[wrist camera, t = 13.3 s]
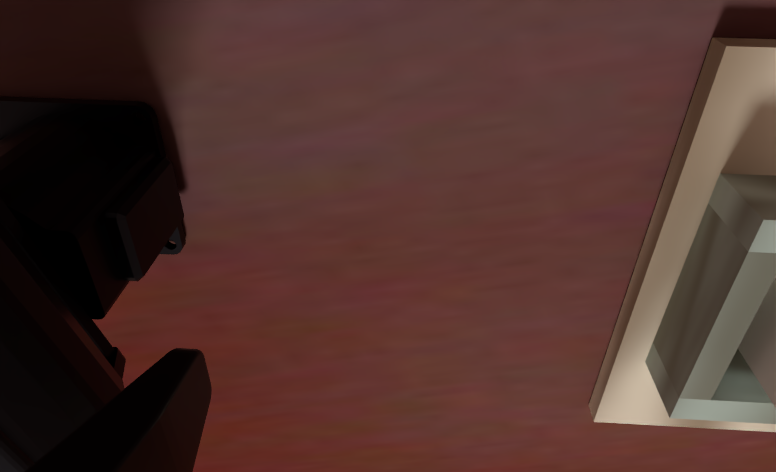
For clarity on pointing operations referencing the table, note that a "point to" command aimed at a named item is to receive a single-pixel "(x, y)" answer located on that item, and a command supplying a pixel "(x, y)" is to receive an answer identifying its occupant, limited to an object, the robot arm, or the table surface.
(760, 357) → the connector plug
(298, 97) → the table surface
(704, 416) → the end holder
